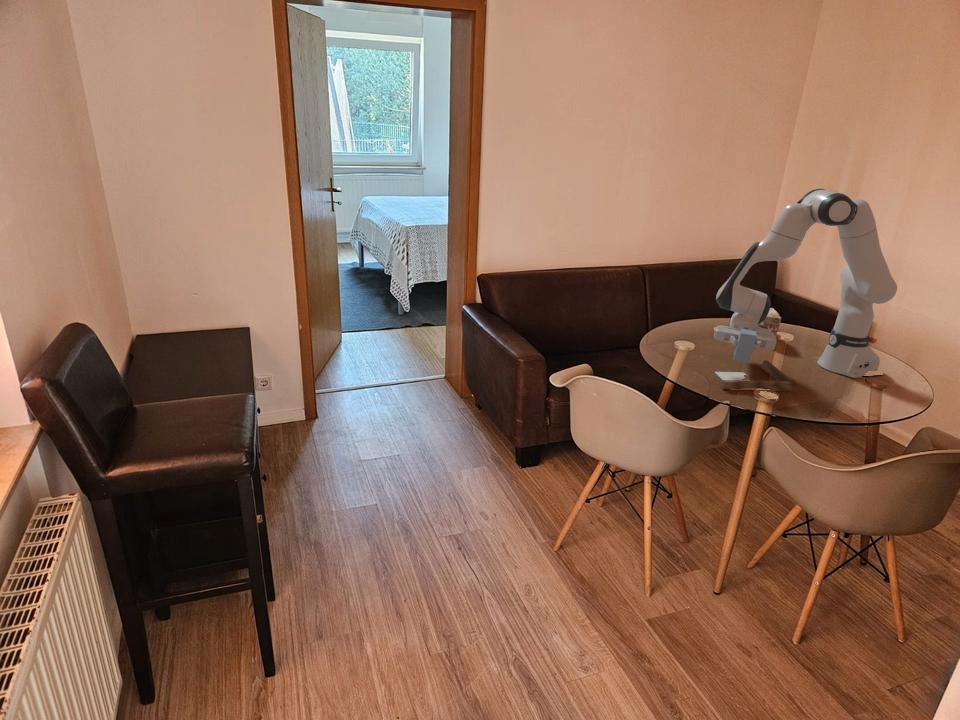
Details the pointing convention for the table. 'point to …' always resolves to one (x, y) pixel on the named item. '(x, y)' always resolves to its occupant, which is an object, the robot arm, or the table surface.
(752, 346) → the slate-blue block
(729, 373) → the felt pad
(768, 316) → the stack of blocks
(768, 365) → the walnut fence
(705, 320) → the table surface
